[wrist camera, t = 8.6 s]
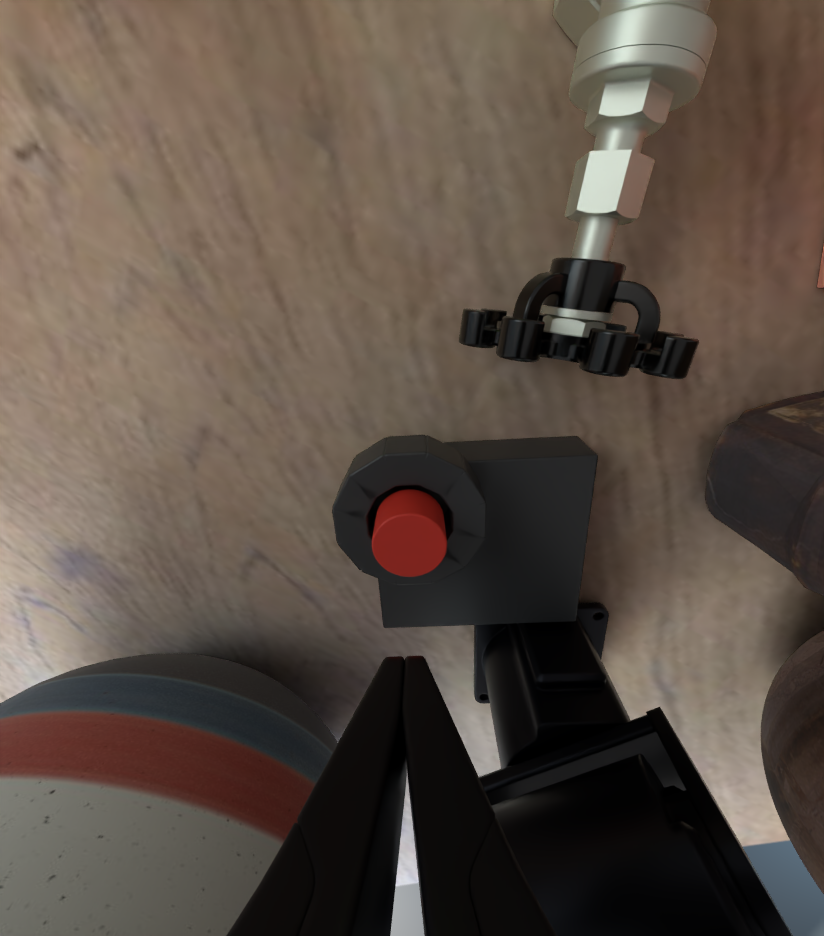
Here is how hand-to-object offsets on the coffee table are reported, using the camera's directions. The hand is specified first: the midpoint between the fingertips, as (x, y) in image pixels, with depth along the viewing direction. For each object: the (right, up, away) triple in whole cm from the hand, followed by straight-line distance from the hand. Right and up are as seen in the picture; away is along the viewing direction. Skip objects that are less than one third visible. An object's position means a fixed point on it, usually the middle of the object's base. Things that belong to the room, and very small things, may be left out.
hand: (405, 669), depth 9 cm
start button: (0, +3, +6) cm, 6 cm away
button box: (+3, +2, +10) cm, 11 cm away
